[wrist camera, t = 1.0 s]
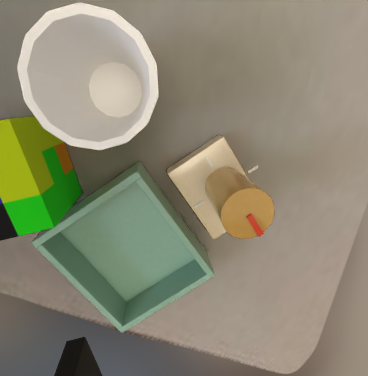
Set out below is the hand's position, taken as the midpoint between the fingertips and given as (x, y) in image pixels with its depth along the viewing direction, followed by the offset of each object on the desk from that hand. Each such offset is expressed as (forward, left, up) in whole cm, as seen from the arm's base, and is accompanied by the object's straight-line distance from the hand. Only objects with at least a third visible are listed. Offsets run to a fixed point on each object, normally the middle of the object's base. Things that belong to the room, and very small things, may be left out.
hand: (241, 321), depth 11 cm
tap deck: (+4, +3, -24) cm, 25 cm away
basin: (+4, -11, -24) cm, 27 cm away
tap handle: (+4, +4, -22) cm, 22 cm away
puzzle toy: (-12, -15, -25) cm, 31 cm away
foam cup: (-13, -1, -25) cm, 28 cm away
